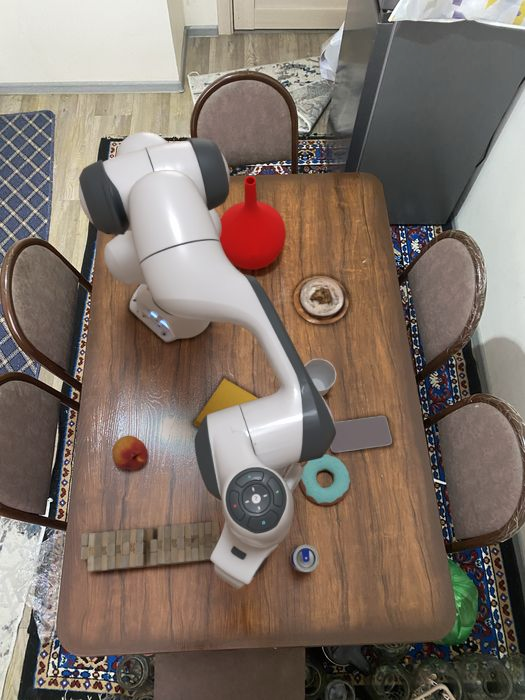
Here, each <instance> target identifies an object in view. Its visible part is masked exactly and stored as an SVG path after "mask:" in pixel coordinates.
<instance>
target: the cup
mask: <svg viewBox="0 0 525 700" xmlns="http://www.w3.org/2000/svg"><path fill="white" fill-rule="evenodd" d="M304 366H305V368H306V370H307V372H308V374H309V376H310V377H311V379H312V381H313V383H314V385H315V386H316V388H317V390H318V391H319V393H320V394H321V396H322V397H324V396H325V395H326V394H327V393H328V392H330V390H331V389H332V388H333V386H334V385H335V382H336V380H337V371H336V368H335V366H334V365H333V364H332V363H331V362H330V361H328V360H327V359H324V358H313V359H311V360H308V361H307V362H306V363H305V364H304Z"/></svg>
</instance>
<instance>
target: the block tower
mask: <svg viewBox="0 0 525 700" xmlns="http://www.w3.org/2000/svg"><path fill="white" fill-rule="evenodd" d="M219 537H220V522H219V520H212V521H205V522H204V521H203V522H198V523H196V522H194V523H185V524H175V525H173V524H172V525H168V526H167V525H166V526H165V525H158V526H157V529H155V528H146V529H144V528H131V529H118V530H111V531H102V532H100V531H99V532H90V533H88V532H83V533H81V537H80V538H81V539H80V546H81V547H80V559H81V560H86V561H87V566H86V571H87V572H105V571H107V572H108V571H112V570H130V569H139V568H140V569H141V568H148V567H149V568H150V567H162V566H166V565H167V566H168V565H180V564H182V565H183V564H190V563H197V562H204V561H211V560H210V557H211V555H212V553H213V550H214V548H215V546H216V544H217V541H218V539H219Z"/></svg>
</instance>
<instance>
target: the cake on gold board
mask: <svg viewBox="0 0 525 700" xmlns="http://www.w3.org/2000/svg"><path fill="white" fill-rule="evenodd" d="M293 306H294V308H295V310H296V312H297V313H298V314H299V315H300V316H301V317H302V318H303V319H304V320H305V321H308V322H309V323H311V324H316V325H329V324H332V323H335V322H337V321H338V320H340V319H341V318H342V317H343V316H344V315H345V314H346V312H347V310H348V307H349V295H348V293H347V290H346V289H345V287H344V286H343V284H341V283H340V282H339V281H337V280H336V279H334V278H332V277H330V276H326V275H313V276H310V277H307V278H305V279H304V280H302V281H301V282H300V283H299V284H298V285H297V286H296V287H295V290H294V292H293Z"/></svg>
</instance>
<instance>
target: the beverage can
mask: <svg viewBox="0 0 525 700" xmlns="http://www.w3.org/2000/svg"><path fill="white" fill-rule="evenodd" d="M319 561H320V557H319V553H318V551H317V549H316V548H315V547H314V546H313V545H310V544H301V545H299V546H297V547H296V548H294V549H293V550H292V551H291V553H290V555H289V563H290V566H291V567H292V569H293V570H295V571H296V572H299V573H310V572H312V571H314V570H315V569H316V568H317V567H318V565H319Z"/></svg>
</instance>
